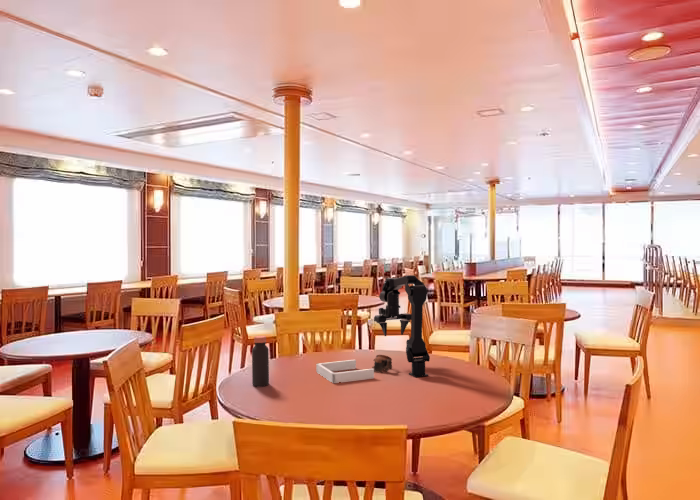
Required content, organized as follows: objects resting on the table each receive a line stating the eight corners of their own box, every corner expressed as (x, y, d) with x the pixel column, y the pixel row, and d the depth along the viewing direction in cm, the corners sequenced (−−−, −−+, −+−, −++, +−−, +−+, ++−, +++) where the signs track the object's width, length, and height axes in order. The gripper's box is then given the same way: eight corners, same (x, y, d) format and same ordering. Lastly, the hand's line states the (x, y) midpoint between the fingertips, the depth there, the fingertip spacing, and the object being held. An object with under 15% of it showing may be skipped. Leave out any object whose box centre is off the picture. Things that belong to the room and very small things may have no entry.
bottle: (265, 387, 204) (264, 338, 203) (249, 386, 205) (249, 337, 205) (271, 382, 210) (270, 335, 210) (256, 382, 212) (255, 335, 211)
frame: (374, 378, 216) (373, 369, 216) (332, 383, 208) (332, 373, 208) (354, 368, 235) (354, 359, 235) (316, 372, 227) (316, 363, 227)
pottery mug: (366, 371, 230) (371, 354, 234) (382, 378, 234) (386, 361, 238) (381, 369, 221) (385, 352, 224) (398, 376, 224) (402, 359, 228)
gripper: (401, 301, 255) (402, 331, 255) (368, 303, 247) (369, 334, 247) (412, 302, 245) (413, 334, 245) (379, 305, 237) (379, 337, 237)
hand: (393, 335), depth 244 cm, fingers open, 9 cm apart
